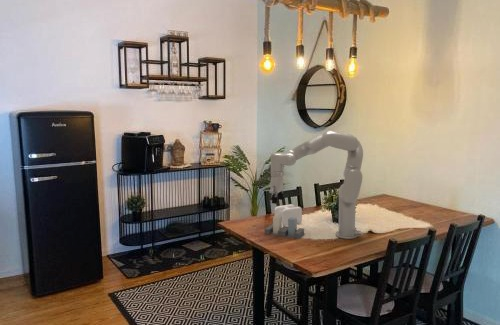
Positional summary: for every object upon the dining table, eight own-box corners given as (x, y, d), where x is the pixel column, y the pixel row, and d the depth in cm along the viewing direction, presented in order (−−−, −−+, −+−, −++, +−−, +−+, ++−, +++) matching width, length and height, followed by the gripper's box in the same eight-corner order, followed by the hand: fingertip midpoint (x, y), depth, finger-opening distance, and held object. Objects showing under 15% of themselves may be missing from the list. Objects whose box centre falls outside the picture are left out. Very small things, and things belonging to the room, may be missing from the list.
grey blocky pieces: (305, 235, 234) (305, 228, 234) (300, 240, 225) (300, 234, 225) (270, 230, 244) (270, 224, 244) (263, 235, 236) (263, 228, 235)
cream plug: (275, 231, 239) (275, 215, 238) (281, 232, 238) (281, 216, 236) (273, 233, 236) (272, 217, 234) (279, 234, 234) (279, 218, 233)
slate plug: (296, 234, 234) (296, 218, 232) (294, 236, 230) (294, 219, 228) (290, 233, 235) (290, 217, 234) (288, 235, 232) (288, 219, 230)
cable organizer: (282, 227, 249) (282, 210, 247) (274, 223, 258) (274, 206, 257) (302, 224, 256) (302, 206, 254) (293, 220, 265) (293, 203, 263)
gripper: (276, 170, 241) (277, 197, 244) (265, 175, 226) (266, 204, 228) (288, 171, 238) (288, 198, 240) (277, 176, 222) (277, 205, 225)
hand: (277, 201), depth 234 cm, fingers open, 9 cm apart
